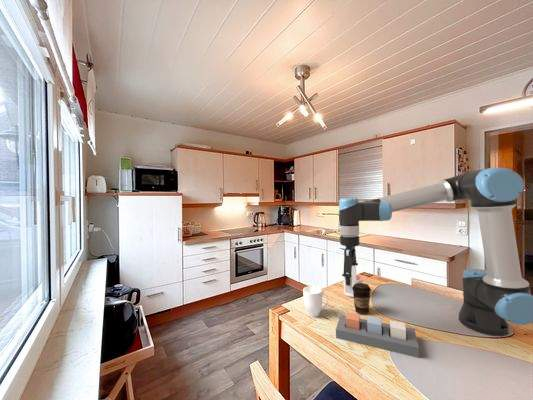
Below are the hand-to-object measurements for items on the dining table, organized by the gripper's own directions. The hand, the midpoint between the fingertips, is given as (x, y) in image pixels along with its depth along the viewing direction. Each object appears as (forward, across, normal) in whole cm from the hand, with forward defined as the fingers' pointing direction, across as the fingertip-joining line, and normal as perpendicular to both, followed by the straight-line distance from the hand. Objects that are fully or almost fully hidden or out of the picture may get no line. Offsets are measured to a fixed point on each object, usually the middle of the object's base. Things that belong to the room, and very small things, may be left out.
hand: (351, 286), depth 94 cm
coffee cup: (+19, -18, +2) cm, 27 cm away
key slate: (+17, +1, +8) cm, 19 cm away
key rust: (+17, +1, 0) cm, 17 cm away
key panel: (+19, +1, +8) cm, 21 cm away
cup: (+19, -36, -4) cm, 41 cm away
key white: (+17, +1, +16) cm, 24 cm away
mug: (+20, -8, -18) cm, 28 cm away
